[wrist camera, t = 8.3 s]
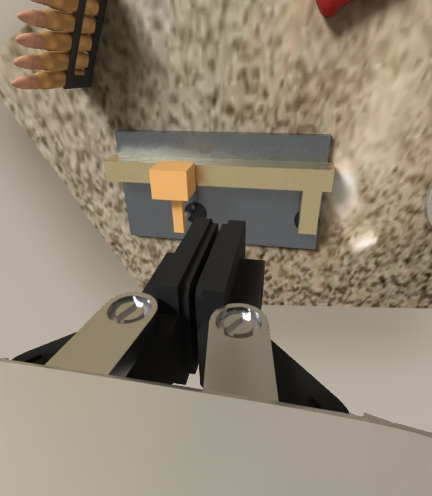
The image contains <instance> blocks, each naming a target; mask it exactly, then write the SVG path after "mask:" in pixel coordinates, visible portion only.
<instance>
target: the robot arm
mask: <svg viewBox="0 0 432 496" xmlns="http://www.w3.org/2000/svg"><path fill="white" fill-rule="evenodd" d="M425 210H426V216H427V218H428V221H429V223H430V225H431V226H432V182H431V184H430V186H429V189H428V192H427V194H426V201H425ZM245 240H246V221H240V220H229V221H228V223H227V224H222V225H221V228H220V230H219V227H218V223H213V220H212V219H209V218H195V219H194V221H193V223H192V224H191V226H190V228H189V229H188V231H187V233H186V234H185V236H184V238H183V239H182V241H181V243H180V245H179V246H178V248H177V250H176V251H175V253H171V252H169V253H167V254H166V255H165V257H164V258H163V260H162V261H161V263H160V265H159V266H158V268H157V269H156V271H155V272H154V274H153V276H152V277H151V279H150V280H149V282H148V284H147V285H146V287H145V288H144V290H143V292H142V293H141V292H131V293H125V294H121V295H118V296H116V297H114V298H112V299H111V300H110V301H108V302H107V303H106V304H105V305H104V306H103V307H102V308H101V309H100V310H99V311H98V312H97V313H96V314H95V315H94V316H93V317H92V318H91V319H90V320H89V321H88V322H87V323H86V324H85V325H84V326H83V327H82V328H81V329H80V330H79V331H78V332H76V333H73V334H71V335H68V336H65V337H63V338H60V339H58V340H55V341H53V342H50V343H48V344H45V345H43V346H40V347H38V348H35V349H33V350H30V351H27V352H25V353H23V354H21V355H19V356H17V357H15V358H14V359H12V360H9V359H8V358H0V496H432V433H430V432H426V431H422V430H419V429H415V428H412V427H408V426H405V425H401V424H397V423H392V422H389V421H387V420H384V419H381V418H378V417H375V416H372V415H369V414H366V413H364V415H363V417H362V416H357V415H354V414H351V413H349V411H348V410H347V408H346V407H345V406H344V405H343V403H342V402H341V401H340V400H339V399H338V398H337V397H336V396H334V395H333V394H332V393H331V392H330V391H329V390H327V389H326V388H325V387H324V386H323V385H322V384H321V383H320V382H319V381H317V380H316V379H315V378H314V377H313V376H312V375H311V374H309V373H308V372H307V371H306V370H305V369H304V368H303V367H301V366H300V365H299V364H298V363H297V362H296V361H295V360H293V359H292V358H291V357H290V356H289V355H288V354H287V353H286V352H284V351H283V350H282V349H281V348H280V347H278V345H276V344H275V343H274V342H273V341H272V340H271V338H270V331H269V323H268V320H267V317H266V315H265V314H264V313H263V312H262V311H261V306H262V296H263V284H264V267H265V260H253V259H245ZM198 364H199V372H200V385H201V386H202V387H203V390H202V389H196V388H190V387H183V386H177V385H171V384H173V383H177V384H183V385H186V383H187V379H188V376H189V373H190V374H195V373H196V370H197V367H198Z"/></svg>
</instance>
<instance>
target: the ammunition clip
mask: <svg viewBox="0 0 432 496" xmlns="http://www.w3.org/2000/svg"><path fill="white" fill-rule="evenodd" d="M31 1H33V2H36V3H40V4H43V5H47V6H49V7H51V8H53V9H56V10H51V9H49V10H26V11H22V12H20V13H19V14H18V15H17V17H18V18H19V19H20V20H21V21H23V22H25V23H27V24H29V25H33V26H36V27H42V28H46V29H49V30H52V31H44V32H37V33H25V34H21V35H19V36H17V37H16V39H15V41H16V42H17V43H19V44H20V45H23V46H26V47H29V48H36V49H45V50H48V51H46V52H40V53H38V54H30V55H24V56H20V57H18V58H16V59H15V60H14V62H13V63H14V64H15V65H16V66H18V67H21V68H25V69H37V70H46V71H40V72H37V73H35V74H30V75H25V76H21V77H19V78H17V79H15V80H14V81H13V82H12V85H13V86H14V87H17V88H21V89H53V88H59V87H63V88H64V89H72V88H83V87H90V83H91V78H92V73H93V68H94V63H95V58H96V53H97V48H98V43H99V38H100V33H101V28H102V23H103V18H104V13H105V8H106V3H107V0H31ZM57 10H60V11H57ZM70 12H73V13H70Z"/></svg>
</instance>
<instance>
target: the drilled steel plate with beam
mask: <svg viewBox="0 0 432 496" xmlns="http://www.w3.org/2000/svg"><path fill="white" fill-rule="evenodd" d="M115 135H116V142H117V148H118V155H114V156H112V157H110V158H108V159H107V160H105V161H104V167H105V173H106V178H107V181H113V182H123V187H124V193H125V200H126V206H127V213H128V219H129V226H130V232H131V235H135V236H148V237H161V238H174V239H183V238H184V236H185V234H186V233H187V231H188V229H189V228H190V226H191V224H192V223H193V221H194V219H195V218H209V219H212V220H213V223H218V227H219V230H220V228H221V225H222V224H227V223H228V221H229V220H240V221H246V240H245V244H251V245H264V246H276V247H289V248H302V249H315V248H316V241H317V234H318V227H319V220H320V213H321V206H322V199H323V192H332V187H333V181H334V174H335V169H334V166H333V163H332V162H328V157H329V150H330V142H331V134H287V133H240V132H193V131H146V130H117V131H115ZM159 161H178V162H195V180H196V190H195V192H194V193H193V195H192V196H191V198H190V199H189V200H188V201H184V206H185V213H186V212H187V211H188V212H190V216H189V218H188V220H187V221H186V230H185V232H184V233H178V232H174V224H173V213H172V201H171V200H159V199H152V193H151V184H150V176H149V169H151V168H152V167H153V166H154V165H156V164H157V163H158V162H159Z"/></svg>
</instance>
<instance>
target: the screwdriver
mask: <svg viewBox="0 0 432 496" xmlns="http://www.w3.org/2000/svg"><path fill="white" fill-rule="evenodd" d="M351 1H353V0H316V2H317V5H318V8H319V10H320V12H321V14H322V15H323V16H325V17H331V16H333V15H334V14H335V13H336V12H337V10H338V9H340V8H341V7H343V6H345V5H346V4H348V3H350V2H351Z"/></svg>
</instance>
